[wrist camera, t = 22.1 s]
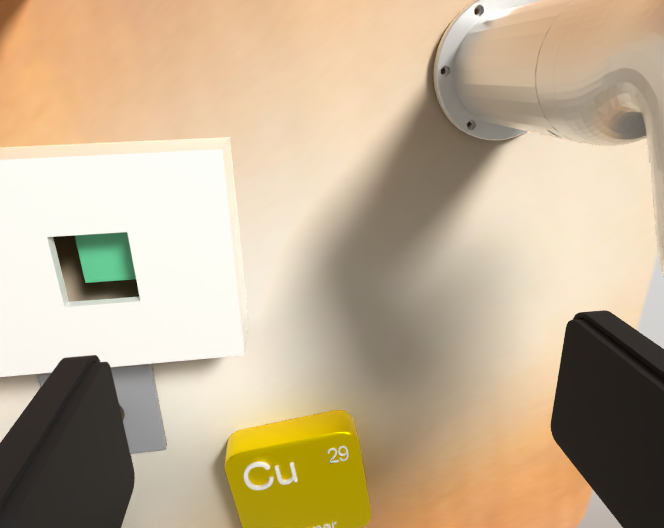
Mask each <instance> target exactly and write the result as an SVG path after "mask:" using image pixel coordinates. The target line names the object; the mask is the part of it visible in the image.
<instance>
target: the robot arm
mask: <svg viewBox="0 0 664 528" xmlns="http://www.w3.org/2000/svg"><path fill="white" fill-rule="evenodd" d="M475 9H477V11H478V13H477V14H476V15H475V13H474V10H475ZM442 68H443V69H444V73H443V74H441V72H440V71H441V69H442ZM433 77H434V88H435V92H436V96H437V99H438V102H439V104H440V106H441V108H442V110H443V112H444V114H445V115H446V116H447V118H448V119H449V120H450V122H451V123H452V124H453V125H455V126H456V127H457V128H458V129H459V130H461V131H463V132H465V133H466V134H468V135H470V136H473V137H476V138H479V139H485V140H491V141H493V140H506V139H510V138H514V137H517V136H519V135H521V134H523V133H525V132H528V131H529V132H534V133H538V134H543V135H548V136H552V137H557V138H562V139H566V140H571V141H576V142H580V143H587V144H591V145H599V146H616V145H624V144H629V143H632V142H636V141H639V140H641V139H644V138H647V143H648V156H649V162H650V164H651V176H652V190H653V203H654V216H655V229H656V236H657V248H658V255H659V261H660V266H661V269H662V273H663V276H664V0H476V1H474V2H472V3H471V4H470V5H468V6H467V7H466V8H464V9H463V10H462V11H461V12H460V13H459V14H458V15H457V16H456V17H455V18H454V19H453V20H452V22H451V23H450V25H449V26H448V28H447V29H446V31H445V32H444V35H443V37H442V39H441V41H440V44H439V46H438V49H437V53H436V57H435V61H434V73H433ZM468 122H470V126H469V127H467V123H468ZM551 431H552V435H553V437H554V440H555V441H556V443H557V444H558V445H559V447H560V448H561V449H562V450H563V452H564V453H565V454H566V456H567V457H568V458H569V459H570V461H571V462H572V463H573V464H574V466H575V467H576V468H577V470H578V471H579V472H580V473H581V475H582V476H583V477H584V478H585V480H586V481H587V482H588V484H589V485H590V486H591V487H592V489H593V490H594V491H595V492H596V494H597V495H598V496H599V498H600V499H601V500H602V501H603V502H604V504H605V505H606V506H607V508H608V509H609V510H610V512H611V513H612V514H613V515H614V516H615V518H616V519H617V520H618V522H619V523H620V524H621V526H622V527H623V528H664V349H663V348H661V347H660V346H658V345H657V344H655V343H654V342H653V341H651V340H650V339H648V338H647V337H645V336H644V335H642V334H641V333H639V332H638V331H637V330H635V329H634V328H632V327H631V326H629V325H628V324H627V323H625V322H624V321H622V320H621V319H619V318H618V317H616V316H615V315H614V314H612V313H611V312H609V311H593V312H581V313H578V314H576V315H575V317H574V318H573V320H571V321H569V322H568V324H567V326H566V331H565V338H564V344H563V350H562V356H561V363H560V369H559V375H558V382H557V388H556V394H555V400H554V407H553V413H552V419H551ZM133 488H134V468H133V464H132V459H131V455H130V451H129V446H128V442H127V437H126V433H125V429H124V424H123V420H122V415H121V411H120V406H119V402H118V398H117V393H116V389H115V384H114V380H113V375H112V371H111V367H110V365H109V363H108V362H100V359H99V358H98V356H96V355H90V356H78V357H67V358H63V359H62V360H61V361H60V362H59V363H58V365H57V366H56V367H55V369H54V370H53V372H52V373H51V374H50V376H49V377H48V378H47V380H46V381H45V383H44V384H43V385H42V387H41V388H40V389H39V391H38V392H37V393H36V395H35V396H34V398H33V399H32V400H31V402H30V403H29V404H28V406H27V407H26V409H25V410H24V411H23V413H22V414H21V415H20V417H19V418H18V420H17V421H16V422H15V424H14V425H13V426H12V428H11V429H10V431H9V432H8V433H7V435H6V436H5V437H4V439H3V440H2V442H1V443H0V528H121V525H122V522H123V519H124V516H125V513H126V510H127V507H128V504H129V501H130V498H131V495H132V492H133Z"/></svg>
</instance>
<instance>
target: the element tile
mask: <svg viewBox="0 0 664 528" xmlns="http://www.w3.org/2000/svg"><path fill="white" fill-rule="evenodd" d="M225 473H226V476H227V479H228V482H229V486H230V489H231V492H232V495H233V499H234V502H235V505H236V508H237V512H238V515H239V518H240V521H241V524H242V528H363V527H364V526H366V525H367V524H368V523H369V522H370V519H371V507H370V501H369V495H368V490H367V484H366V478H365V472H364V466H363V460H362V454H361V448H360V443H359V438H358V434H357V430H356V426H355V422H354V419H353V418H352V416H351V415H350V414H349V413H347V412H346V411H341V410H333V411H329V412H324V413H319V414H314V415H309V416H305V417H300V418H295V419H290V420H285V421H281V422H276V423H271V424H266V425H262V426H257V427H252V428H247V429H242V430H239V431H237V432H235V433H233V434H232V435H231V436H230V437H229V439H228V442H227V449H226V459H225Z"/></svg>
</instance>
